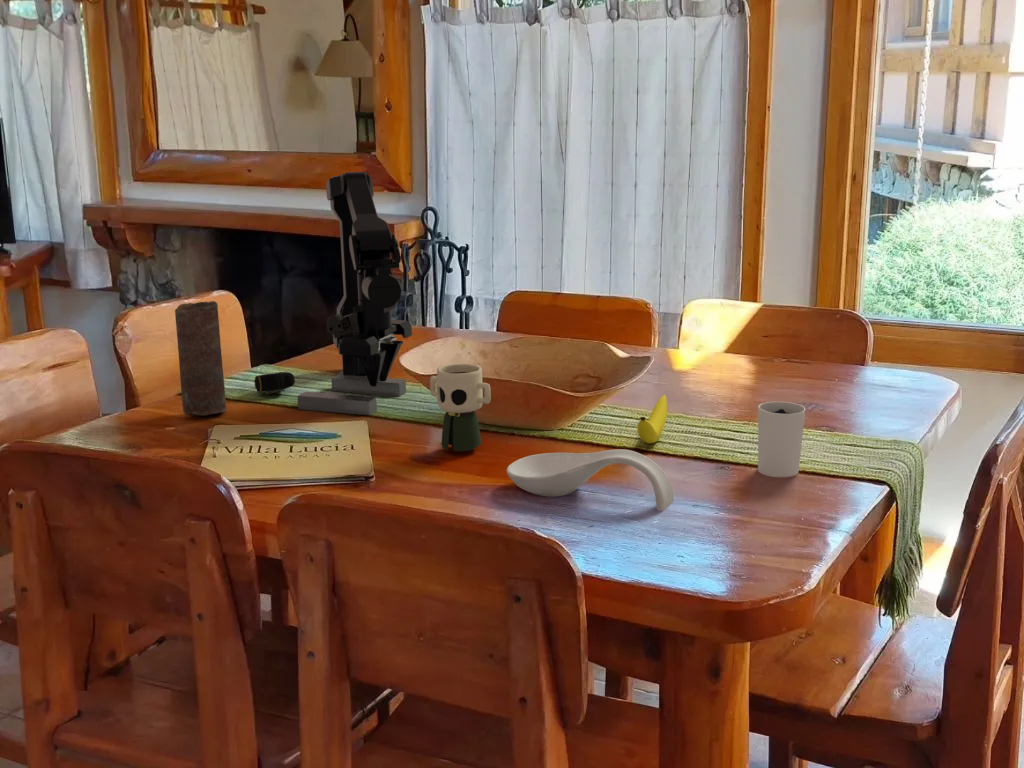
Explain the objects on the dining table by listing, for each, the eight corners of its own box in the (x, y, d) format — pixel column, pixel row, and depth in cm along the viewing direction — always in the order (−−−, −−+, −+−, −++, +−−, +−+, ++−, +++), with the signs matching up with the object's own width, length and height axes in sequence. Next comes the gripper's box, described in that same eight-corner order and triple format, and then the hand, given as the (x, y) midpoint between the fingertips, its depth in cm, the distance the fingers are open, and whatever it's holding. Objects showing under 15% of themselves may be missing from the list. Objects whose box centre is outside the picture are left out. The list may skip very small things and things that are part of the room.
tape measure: (297, 389, 202) (294, 369, 202) (261, 395, 199) (257, 375, 199) (288, 390, 208) (285, 370, 208) (253, 396, 205) (249, 376, 205)
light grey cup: (746, 469, 160) (749, 403, 158) (786, 464, 162) (789, 399, 160) (769, 483, 154) (773, 416, 152) (810, 478, 156) (815, 411, 153)
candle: (219, 421, 187) (210, 307, 182) (177, 421, 187) (167, 307, 182) (231, 409, 194) (223, 299, 189) (191, 409, 194) (181, 299, 189)
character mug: (419, 449, 171) (417, 369, 167) (444, 437, 176) (442, 360, 173) (479, 460, 165) (477, 377, 162) (502, 447, 171) (501, 367, 168)
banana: (672, 423, 183) (673, 387, 182) (651, 457, 166) (652, 418, 164) (655, 421, 184) (656, 385, 182) (632, 456, 167) (633, 416, 165)
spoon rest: (492, 497, 150) (492, 448, 149) (528, 472, 161) (528, 425, 159) (655, 524, 140) (657, 472, 139) (683, 495, 151) (684, 446, 149)
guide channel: (339, 387, 208) (338, 374, 208) (406, 392, 204) (405, 379, 204) (298, 409, 194) (297, 395, 193) (369, 415, 189) (369, 401, 189)
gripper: (356, 288, 204) (360, 369, 207) (308, 305, 186) (313, 393, 190) (411, 290, 200) (414, 372, 204) (367, 308, 183) (371, 398, 187)
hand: (378, 383), depth 196 cm, fingers open, 4 cm apart
